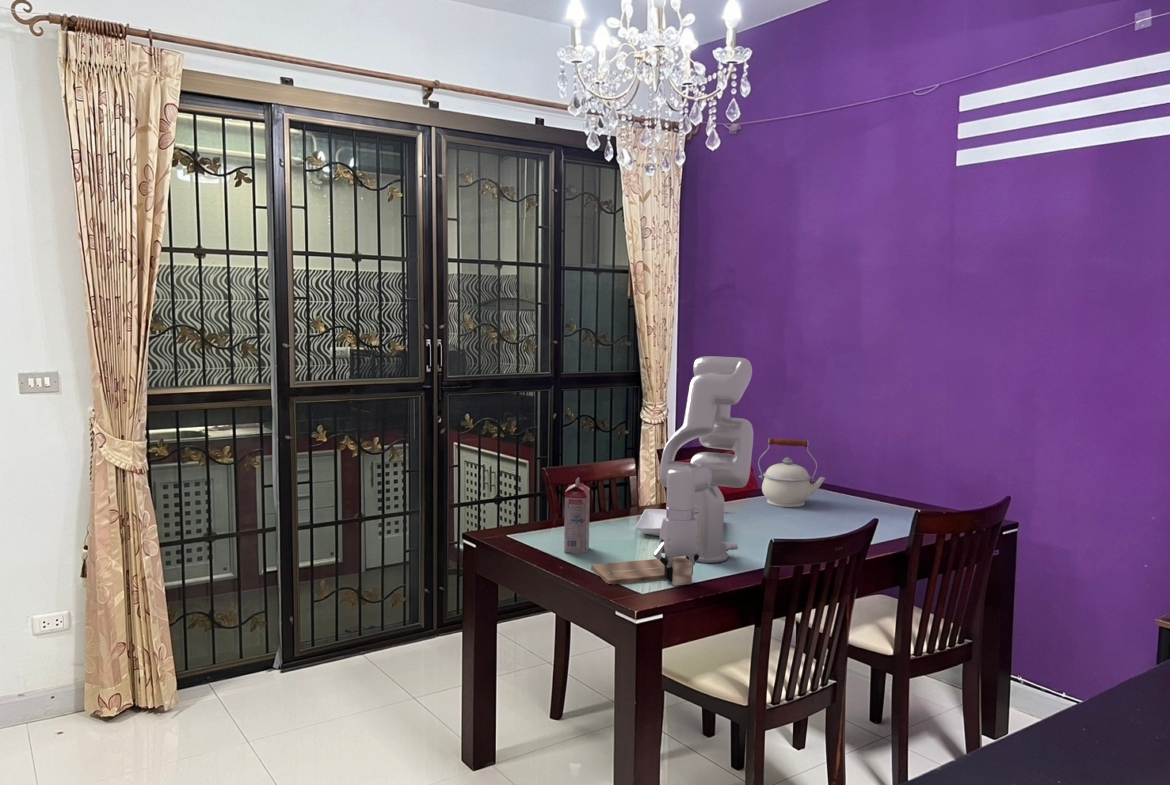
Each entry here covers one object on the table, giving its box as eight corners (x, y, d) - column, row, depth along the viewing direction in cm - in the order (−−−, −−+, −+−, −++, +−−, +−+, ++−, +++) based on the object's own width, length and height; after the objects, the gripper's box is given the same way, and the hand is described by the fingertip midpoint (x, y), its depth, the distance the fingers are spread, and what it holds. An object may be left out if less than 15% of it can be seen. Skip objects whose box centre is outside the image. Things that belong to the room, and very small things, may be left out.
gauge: (672, 570, 236) (673, 549, 235) (691, 583, 224) (692, 562, 224) (656, 571, 234) (656, 551, 233) (674, 585, 223) (675, 563, 222)
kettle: (754, 506, 315) (757, 440, 312) (759, 495, 332) (761, 433, 330) (823, 511, 308) (826, 445, 305) (824, 500, 325) (827, 437, 322)
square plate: (719, 544, 265) (719, 532, 264) (633, 538, 270) (634, 526, 270) (722, 522, 291) (722, 511, 291) (644, 517, 297) (645, 507, 296)
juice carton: (564, 552, 252) (565, 480, 250) (567, 546, 259) (568, 476, 256) (585, 553, 251) (586, 481, 249) (588, 547, 258) (589, 477, 256)
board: (662, 562, 244) (662, 558, 244) (682, 577, 231) (683, 572, 230) (591, 569, 237) (591, 564, 236) (608, 584, 223) (608, 580, 223)
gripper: (702, 508, 231) (700, 572, 233) (645, 512, 225) (644, 578, 227) (715, 515, 224) (713, 581, 226) (656, 519, 218) (655, 587, 220)
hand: (678, 578), depth 226 cm, fingers closed on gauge, 5 cm apart
